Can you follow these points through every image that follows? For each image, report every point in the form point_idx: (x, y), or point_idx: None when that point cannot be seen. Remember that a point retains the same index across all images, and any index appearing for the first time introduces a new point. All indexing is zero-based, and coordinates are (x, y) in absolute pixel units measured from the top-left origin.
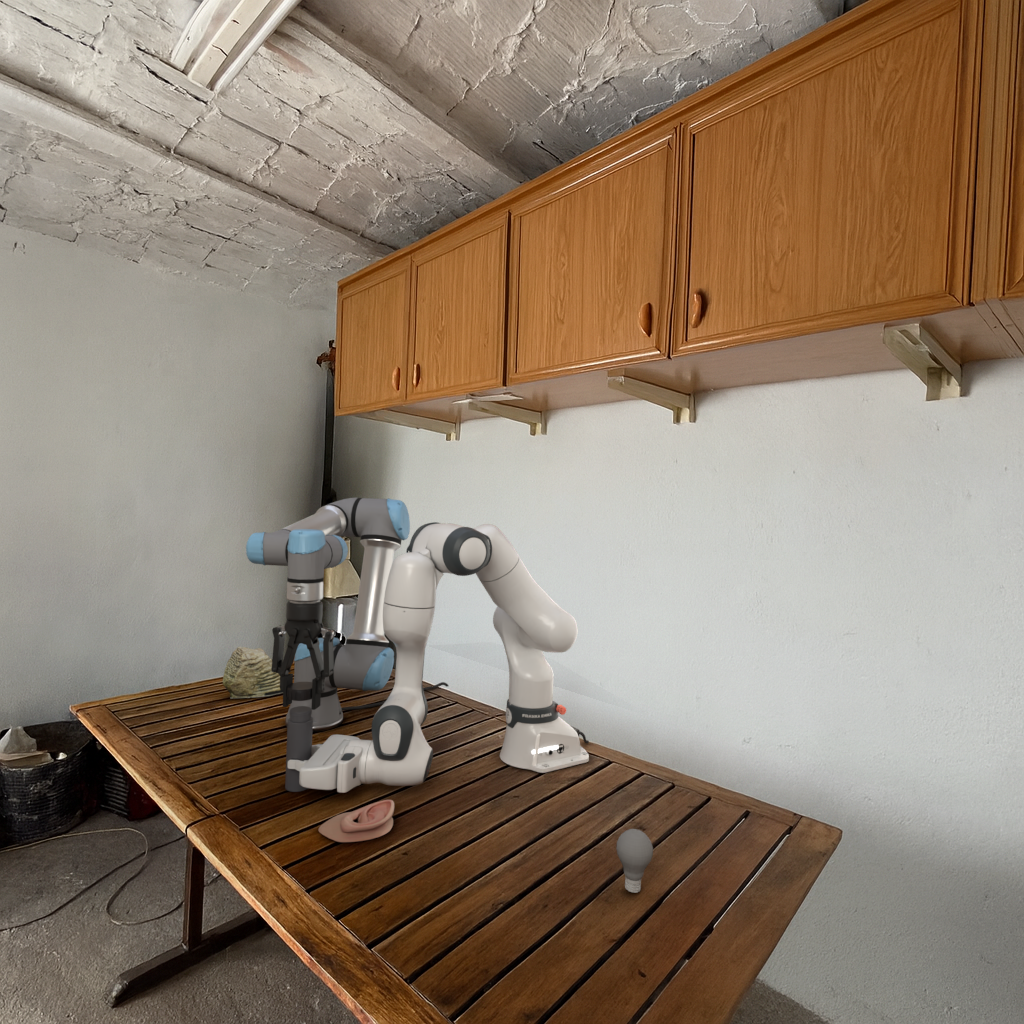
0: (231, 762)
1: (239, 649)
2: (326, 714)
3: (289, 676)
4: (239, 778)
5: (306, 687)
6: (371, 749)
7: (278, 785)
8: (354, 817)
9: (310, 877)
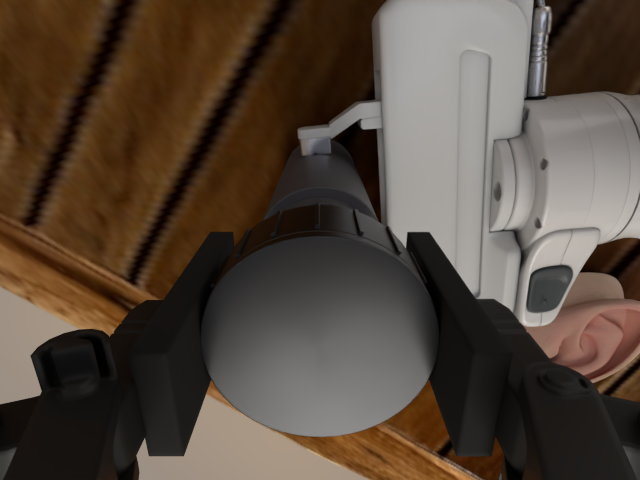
0: (19, 61)
1: None
2: None
3: (179, 408)
4: (131, 165)
5: (376, 377)
6: (636, 228)
7: (264, 179)
8: (551, 357)
9: (494, 466)
